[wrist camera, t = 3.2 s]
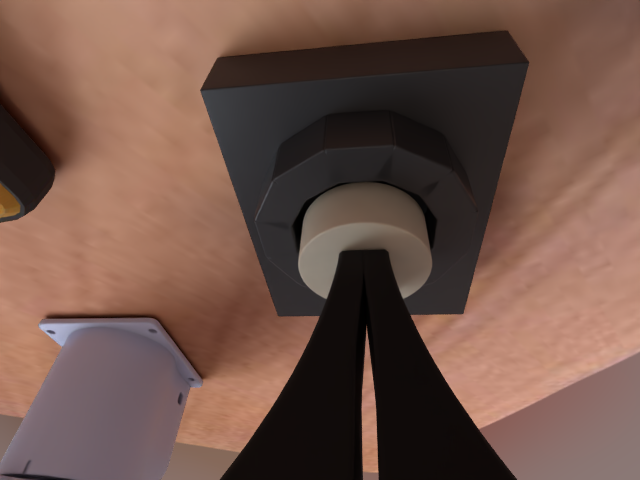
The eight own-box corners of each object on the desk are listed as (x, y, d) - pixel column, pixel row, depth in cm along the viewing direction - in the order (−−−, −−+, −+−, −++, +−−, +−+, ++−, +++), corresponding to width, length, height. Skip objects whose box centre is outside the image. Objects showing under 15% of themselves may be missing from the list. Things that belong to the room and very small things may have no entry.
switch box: (455, 277, 21) (471, 349, 18) (283, 281, 22) (272, 349, 19) (508, 29, 12) (553, 95, 9) (216, 57, 13) (181, 123, 10)
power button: (421, 265, 15) (427, 306, 13) (311, 268, 15) (307, 308, 14) (430, 177, 12) (439, 219, 10) (294, 184, 12) (287, 225, 11)
